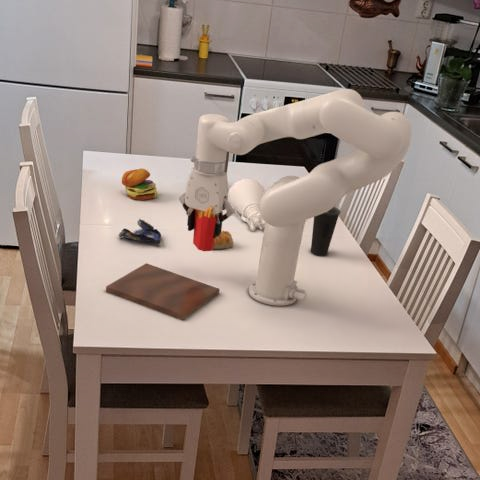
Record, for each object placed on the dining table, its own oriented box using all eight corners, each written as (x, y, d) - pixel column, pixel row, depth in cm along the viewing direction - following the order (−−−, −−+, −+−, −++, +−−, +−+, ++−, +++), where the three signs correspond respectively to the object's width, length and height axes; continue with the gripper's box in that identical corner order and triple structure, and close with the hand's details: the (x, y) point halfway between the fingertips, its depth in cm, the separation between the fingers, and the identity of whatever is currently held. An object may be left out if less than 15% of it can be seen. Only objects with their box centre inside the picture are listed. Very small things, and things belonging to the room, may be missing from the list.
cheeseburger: (156, 203, 254) (151, 173, 250) (123, 206, 255) (117, 176, 250) (159, 191, 263) (154, 162, 259) (127, 195, 264) (121, 166, 259)
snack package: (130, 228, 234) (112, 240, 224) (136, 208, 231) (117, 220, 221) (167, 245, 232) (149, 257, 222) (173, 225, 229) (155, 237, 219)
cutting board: (218, 294, 204) (219, 288, 204) (183, 320, 189) (183, 314, 189) (145, 268, 212) (146, 263, 211) (105, 291, 197) (106, 286, 196)
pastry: (209, 252, 226) (210, 240, 224) (194, 243, 231) (196, 231, 229) (234, 247, 232) (236, 235, 230) (220, 238, 236) (222, 226, 235)
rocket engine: (266, 204, 239) (252, 172, 252) (233, 224, 241) (221, 191, 254) (284, 229, 246) (269, 196, 259) (252, 248, 249) (238, 215, 261)
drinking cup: (336, 254, 237) (350, 190, 228) (321, 260, 232) (334, 194, 223) (316, 245, 242) (328, 182, 232) (300, 250, 236) (312, 186, 227)
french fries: (189, 239, 211) (193, 192, 205) (205, 238, 213) (209, 192, 207) (201, 253, 204) (206, 205, 198) (217, 252, 206) (222, 205, 200)
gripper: (172, 161, 199) (167, 228, 207) (234, 177, 193) (226, 246, 201) (187, 154, 205) (182, 220, 213) (248, 170, 199) (240, 237, 207)
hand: (203, 232), depth 207 cm, fingers closed on french fries, 6 cm apart
